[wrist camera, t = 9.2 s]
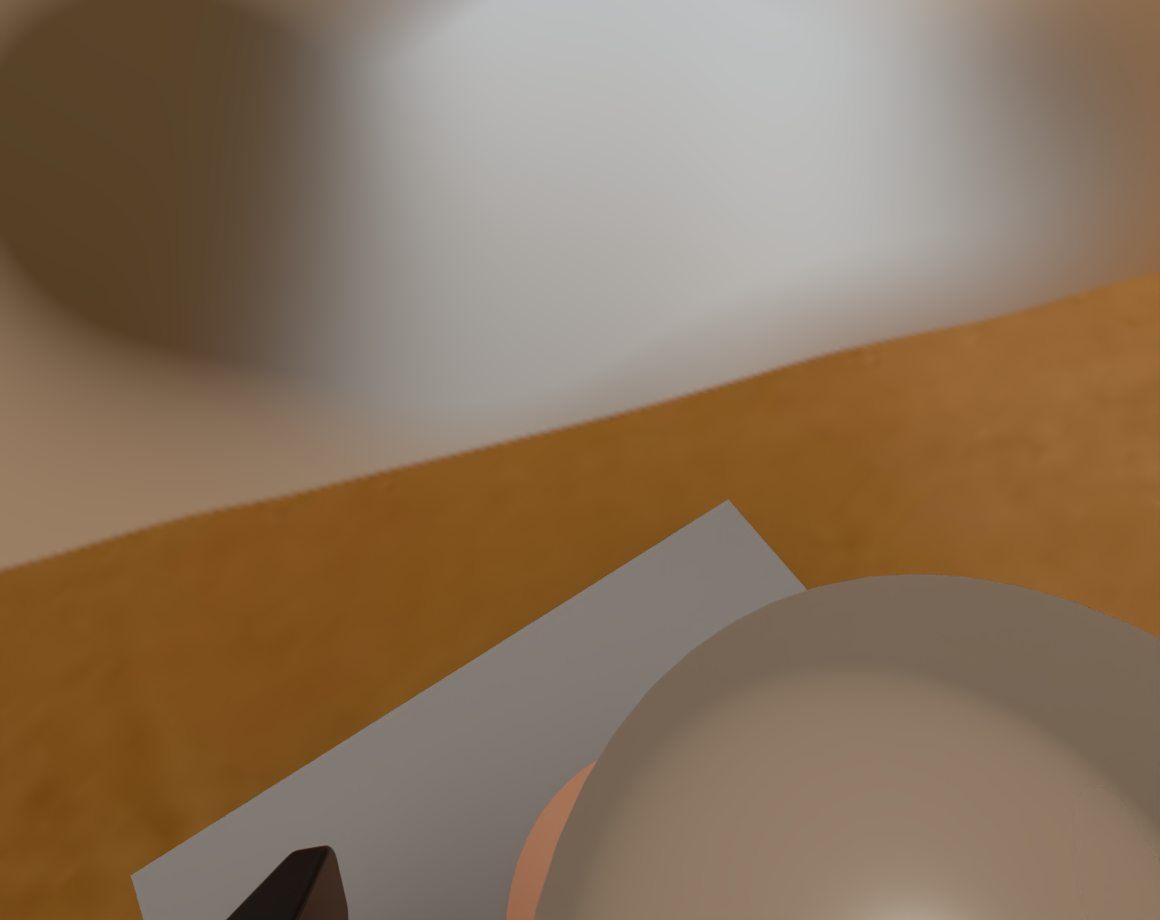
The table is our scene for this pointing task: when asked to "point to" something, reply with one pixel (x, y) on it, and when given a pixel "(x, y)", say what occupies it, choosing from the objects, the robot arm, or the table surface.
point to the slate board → (482, 750)
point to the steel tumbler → (882, 767)
